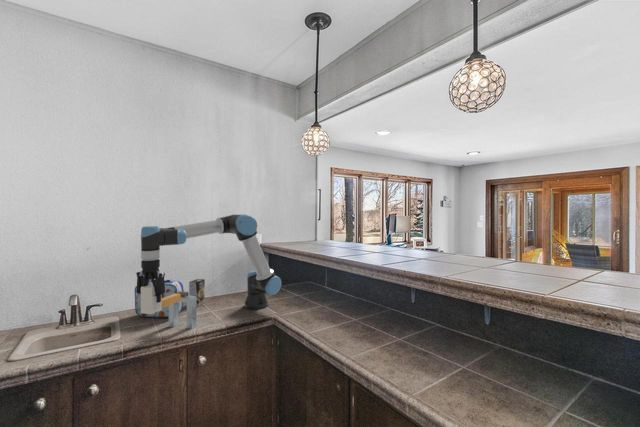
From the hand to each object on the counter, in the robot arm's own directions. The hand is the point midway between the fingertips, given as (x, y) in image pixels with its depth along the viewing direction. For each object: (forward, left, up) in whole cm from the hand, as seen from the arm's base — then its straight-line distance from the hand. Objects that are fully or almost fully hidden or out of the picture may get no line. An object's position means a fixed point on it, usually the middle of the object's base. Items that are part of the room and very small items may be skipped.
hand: (150, 308), depth 140 cm
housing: (0, -22, -17) cm, 28 cm away
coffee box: (+16, -58, -17) cm, 63 cm away
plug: (0, -8, -1) cm, 8 cm away
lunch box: (+24, -34, -17) cm, 45 cm away
